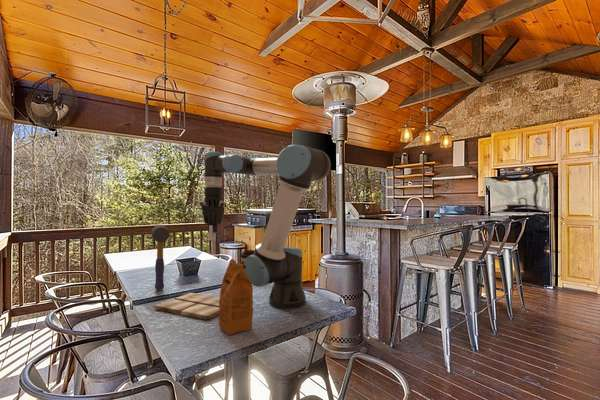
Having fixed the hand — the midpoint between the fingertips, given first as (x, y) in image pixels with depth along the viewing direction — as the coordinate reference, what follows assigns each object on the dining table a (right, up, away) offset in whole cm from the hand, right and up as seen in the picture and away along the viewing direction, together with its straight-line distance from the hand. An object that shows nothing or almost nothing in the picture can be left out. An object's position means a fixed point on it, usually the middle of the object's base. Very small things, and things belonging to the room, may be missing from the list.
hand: (212, 239), depth 138 cm
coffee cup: (+12, -25, +28) cm, 40 cm away
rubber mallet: (-26, -24, +6) cm, 36 cm away
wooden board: (+1, -24, -11) cm, 27 cm away
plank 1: (-9, -24, -18) cm, 31 cm away
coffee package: (+17, -25, -35) cm, 46 cm away
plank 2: (+3, -24, -23) cm, 34 cm away
